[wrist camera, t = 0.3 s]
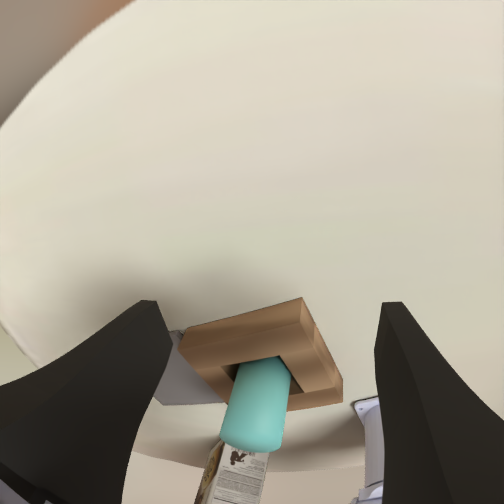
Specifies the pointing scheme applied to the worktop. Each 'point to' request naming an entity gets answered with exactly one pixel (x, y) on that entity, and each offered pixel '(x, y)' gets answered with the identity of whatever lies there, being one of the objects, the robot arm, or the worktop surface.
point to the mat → (183, 381)
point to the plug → (257, 406)
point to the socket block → (266, 352)
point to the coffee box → (232, 476)
